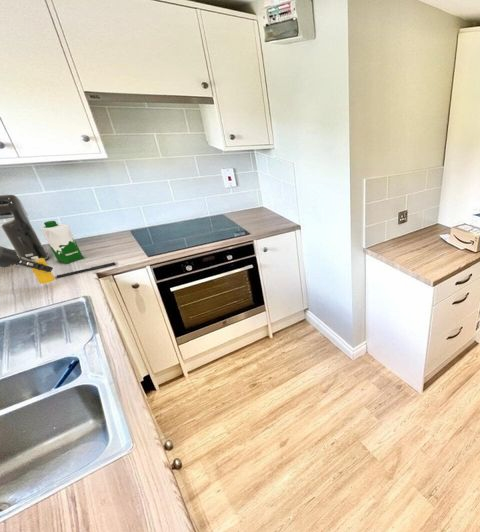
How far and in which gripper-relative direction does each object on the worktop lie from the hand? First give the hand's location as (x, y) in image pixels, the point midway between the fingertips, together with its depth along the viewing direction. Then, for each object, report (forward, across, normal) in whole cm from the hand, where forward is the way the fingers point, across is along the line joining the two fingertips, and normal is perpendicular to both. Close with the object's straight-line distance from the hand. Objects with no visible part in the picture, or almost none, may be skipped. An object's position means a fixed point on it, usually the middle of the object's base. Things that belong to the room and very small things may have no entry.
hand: (46, 268), depth 138 cm
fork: (+15, +2, -4) cm, 16 cm away
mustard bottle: (+2, 0, +5) cm, 6 cm away
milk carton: (+20, +22, -8) cm, 31 cm away
